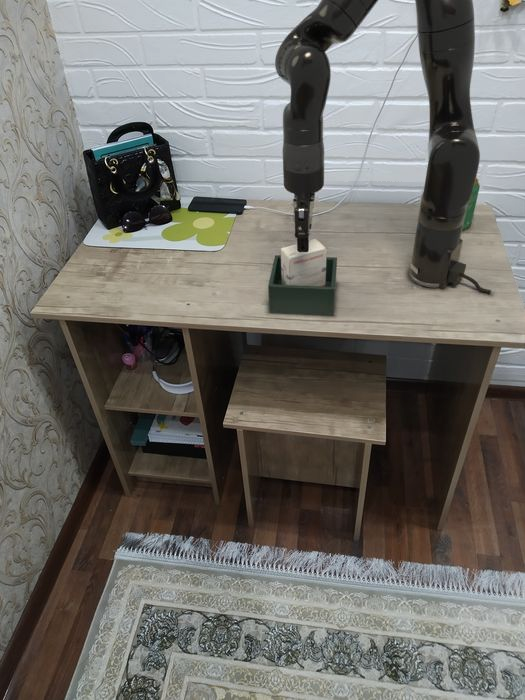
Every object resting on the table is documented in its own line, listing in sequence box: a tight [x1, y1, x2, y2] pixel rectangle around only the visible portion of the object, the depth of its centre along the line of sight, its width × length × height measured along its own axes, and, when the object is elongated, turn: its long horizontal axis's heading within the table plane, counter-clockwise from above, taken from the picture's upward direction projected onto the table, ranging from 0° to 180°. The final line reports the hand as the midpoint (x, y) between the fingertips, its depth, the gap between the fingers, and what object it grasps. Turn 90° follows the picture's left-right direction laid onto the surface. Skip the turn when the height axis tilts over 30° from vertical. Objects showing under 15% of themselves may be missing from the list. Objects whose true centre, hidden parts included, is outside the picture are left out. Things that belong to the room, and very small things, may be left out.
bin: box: [267, 254, 338, 317], centre depth 123 cm, size 14×12×7 cm
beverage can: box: [462, 177, 481, 232], centre depth 140 cm, size 8×8×12 cm
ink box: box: [280, 238, 328, 287], centre depth 120 cm, size 9×5×12 cm, turn 113°
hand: (304, 239), depth 115 cm, fingers open, 8 cm apart
